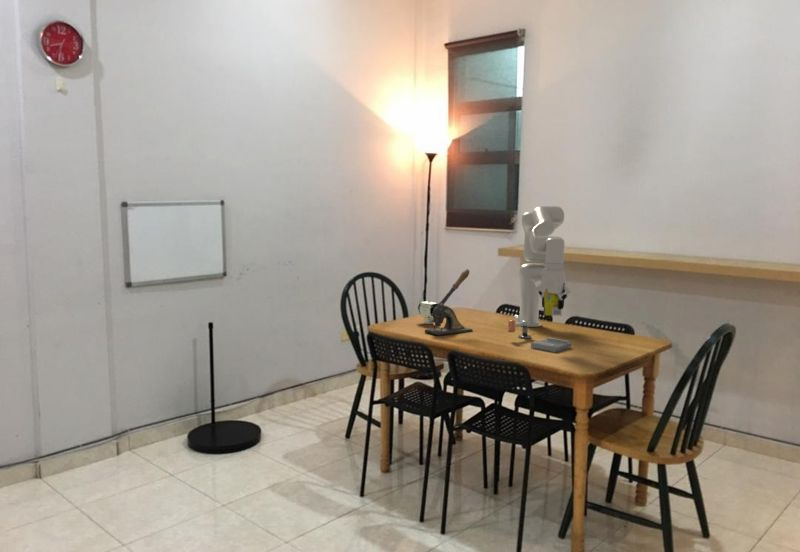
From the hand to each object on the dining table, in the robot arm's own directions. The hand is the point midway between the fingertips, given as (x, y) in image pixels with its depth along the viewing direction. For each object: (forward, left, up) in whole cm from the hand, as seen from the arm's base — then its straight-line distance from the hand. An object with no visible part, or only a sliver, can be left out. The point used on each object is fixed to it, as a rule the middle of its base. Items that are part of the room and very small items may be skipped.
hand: (552, 307), depth 282 cm
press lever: (-20, +5, -13) cm, 25 cm away
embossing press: (-52, -6, -18) cm, 55 cm away
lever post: (-20, +10, -18) cm, 29 cm away
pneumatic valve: (-73, +2, -18) cm, 75 cm away
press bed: (0, 0, -18) cm, 18 cm away
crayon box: (0, 0, -3) cm, 3 cm away
